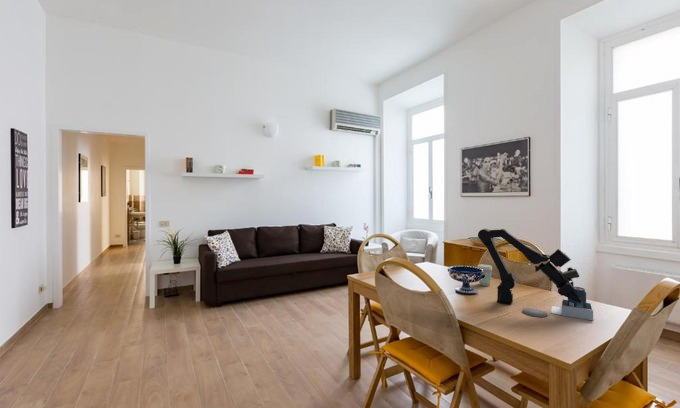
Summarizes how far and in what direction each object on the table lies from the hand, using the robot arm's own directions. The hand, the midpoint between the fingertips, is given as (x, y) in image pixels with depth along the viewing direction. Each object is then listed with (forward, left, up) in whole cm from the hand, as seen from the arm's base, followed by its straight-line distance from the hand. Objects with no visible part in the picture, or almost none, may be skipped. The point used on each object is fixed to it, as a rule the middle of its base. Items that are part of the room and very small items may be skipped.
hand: (580, 300), depth 151 cm
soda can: (-1, 0, -7) cm, 7 cm away
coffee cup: (-46, +30, -7) cm, 56 cm away
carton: (-3, +2, -7) cm, 8 cm away
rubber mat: (-17, -10, -7) cm, 21 cm away
